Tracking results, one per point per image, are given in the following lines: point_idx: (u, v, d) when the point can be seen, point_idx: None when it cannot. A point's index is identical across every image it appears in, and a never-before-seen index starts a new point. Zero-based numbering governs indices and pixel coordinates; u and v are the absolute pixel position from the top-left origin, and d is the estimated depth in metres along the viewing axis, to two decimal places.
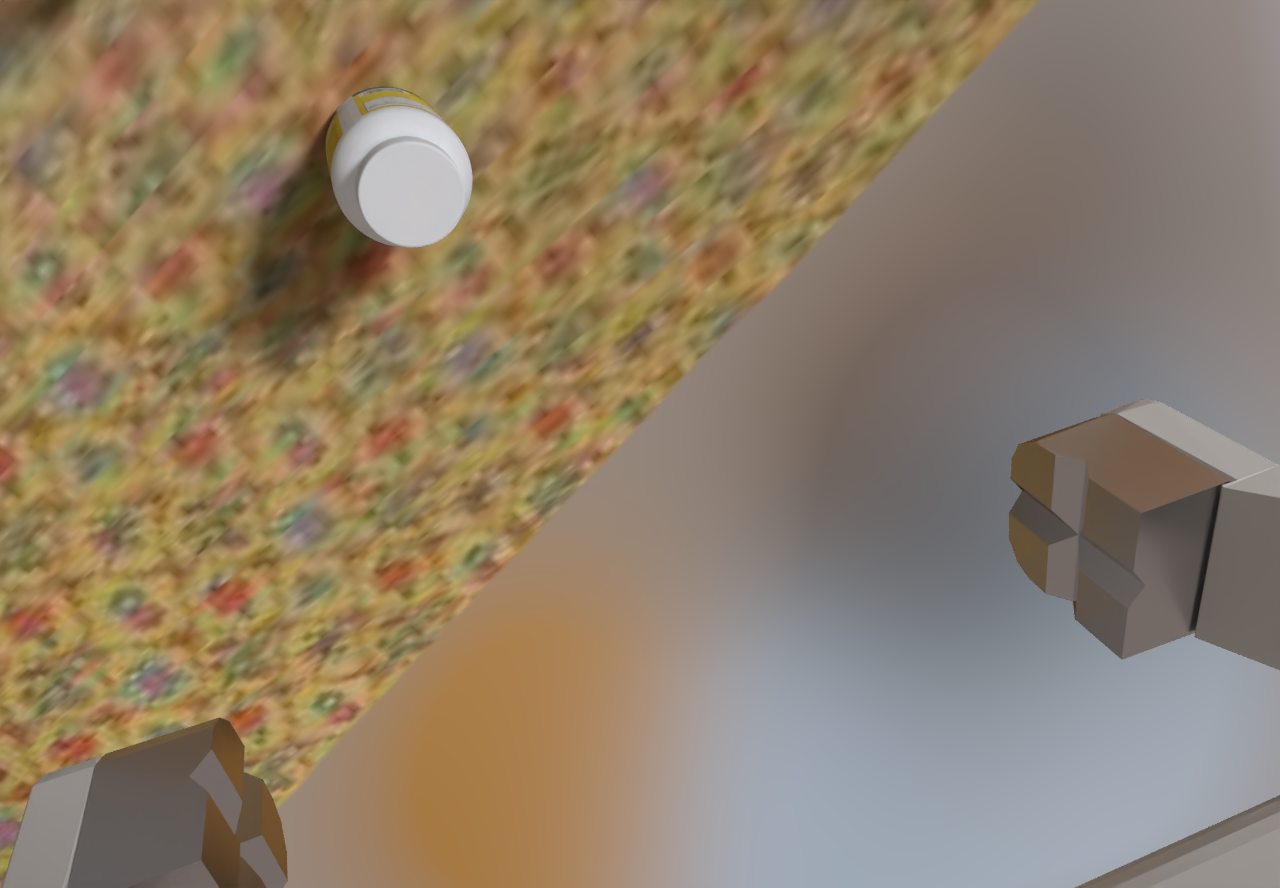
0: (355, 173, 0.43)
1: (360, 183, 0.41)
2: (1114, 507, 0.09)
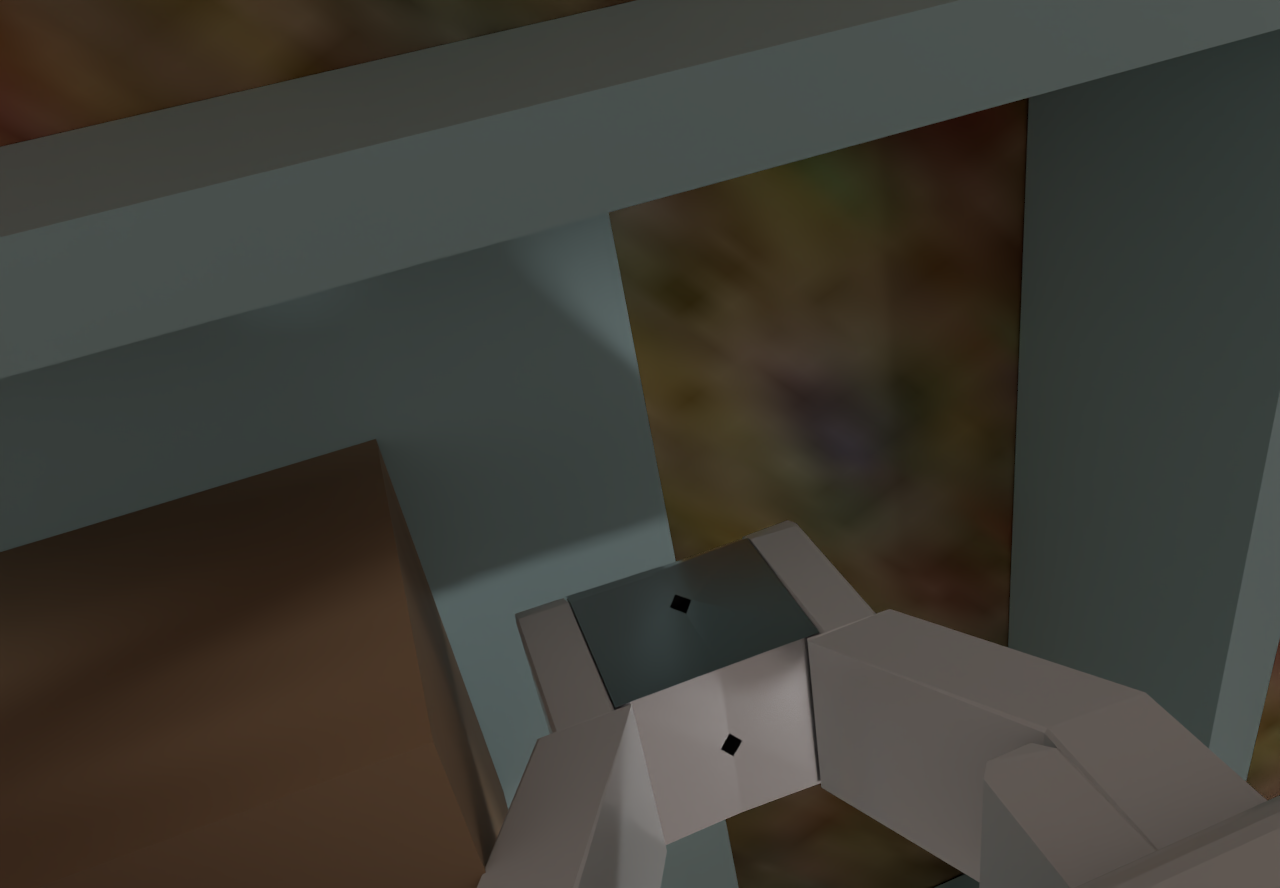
0: None
1: None
2: None
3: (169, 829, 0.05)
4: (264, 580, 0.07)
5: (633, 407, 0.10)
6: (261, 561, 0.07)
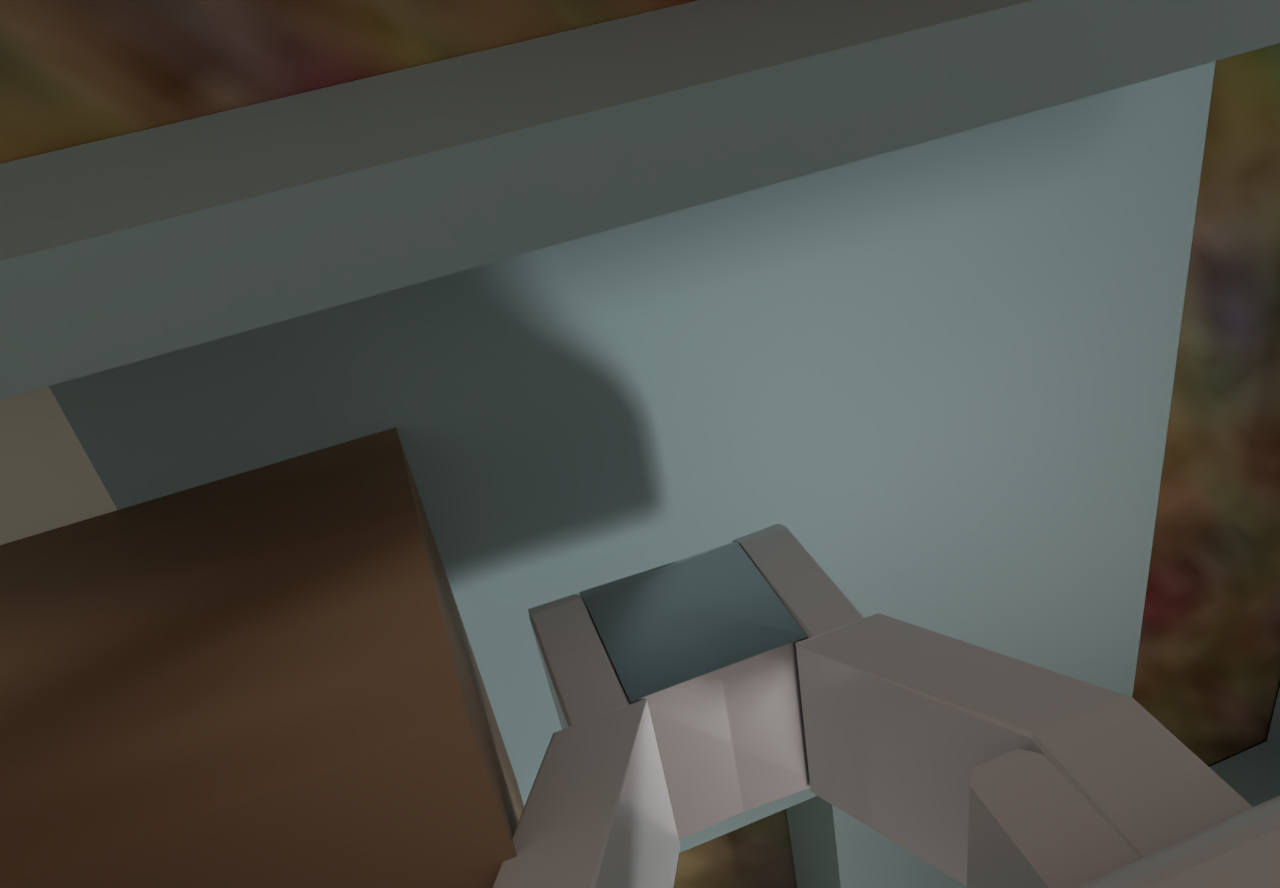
0: None
1: None
2: None
3: (206, 803, 0.05)
4: (290, 565, 0.07)
5: (1182, 242, 0.11)
6: (287, 546, 0.08)
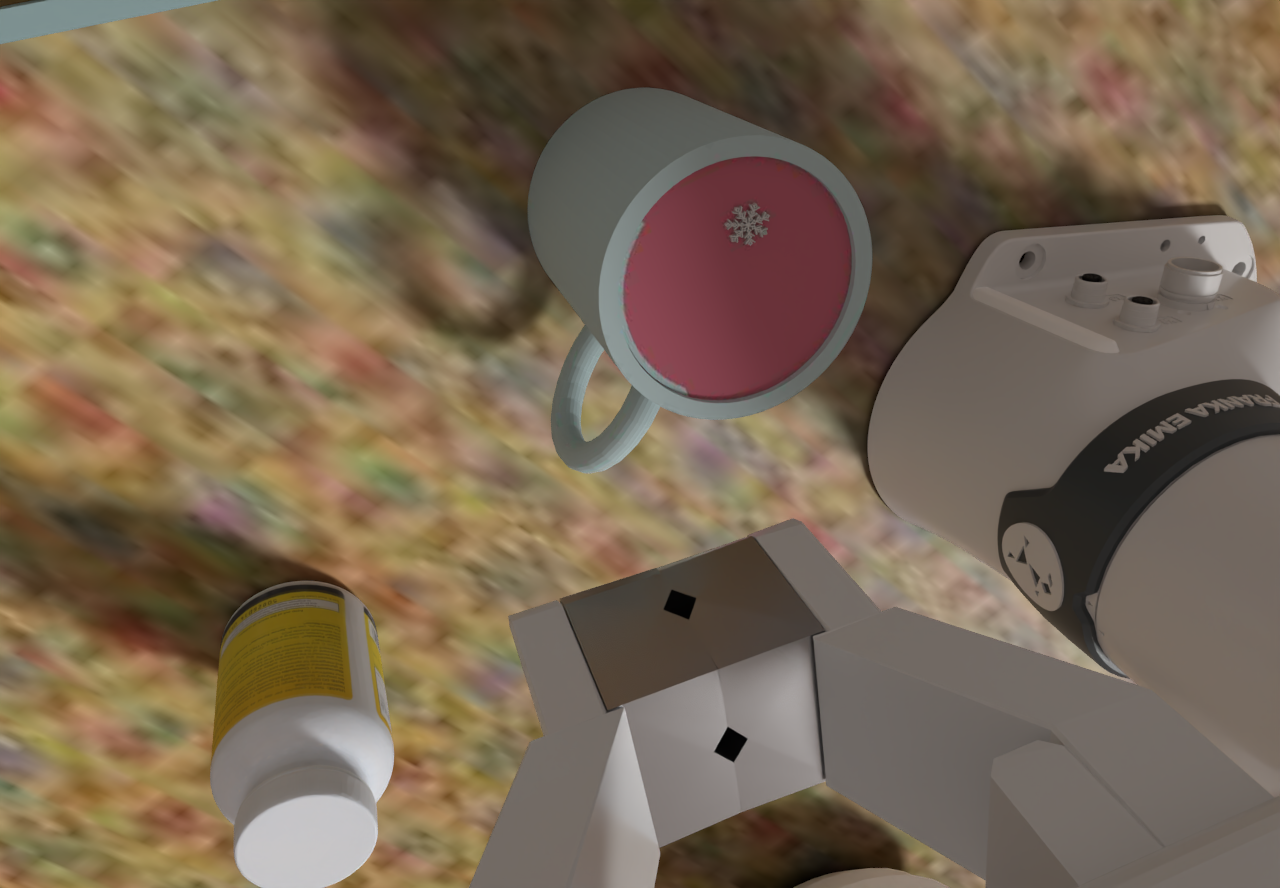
0: (314, 745, 0.34)
1: (318, 796, 0.32)
2: None
3: None
4: None
5: None
6: None
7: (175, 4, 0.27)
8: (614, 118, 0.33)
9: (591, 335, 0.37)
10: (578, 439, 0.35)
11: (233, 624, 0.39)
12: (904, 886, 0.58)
